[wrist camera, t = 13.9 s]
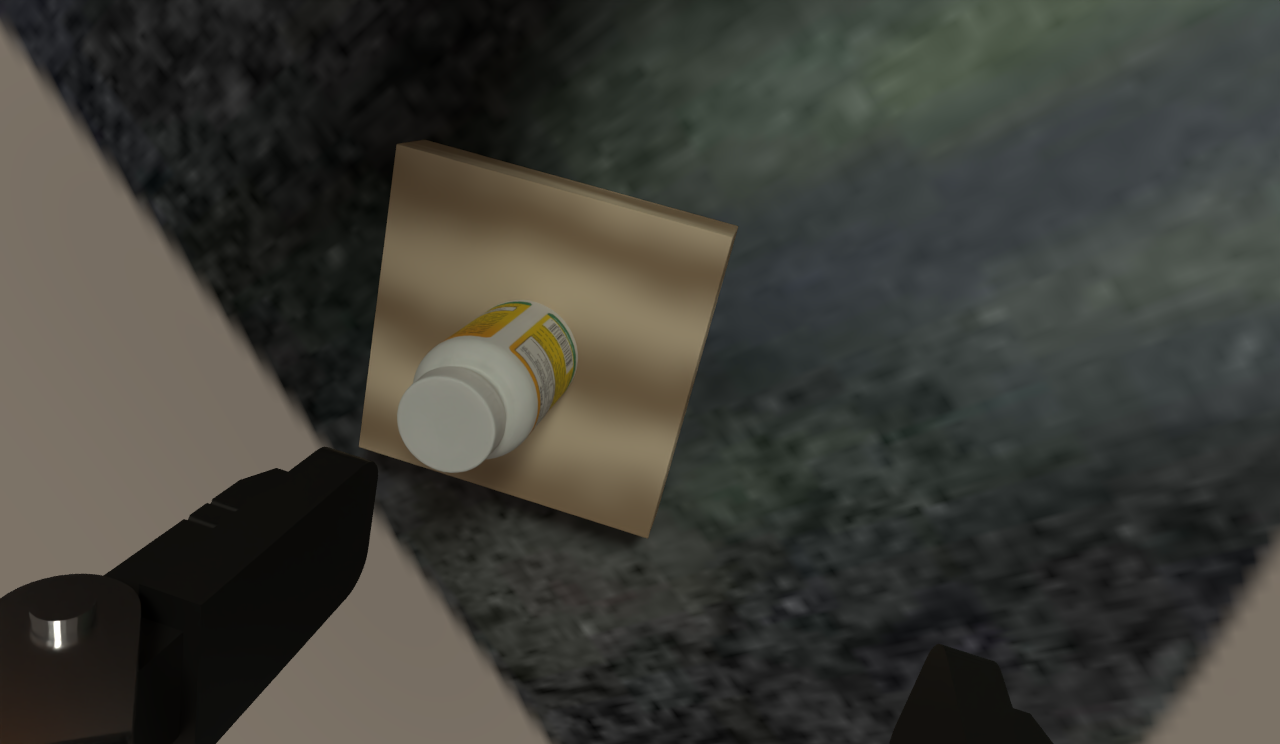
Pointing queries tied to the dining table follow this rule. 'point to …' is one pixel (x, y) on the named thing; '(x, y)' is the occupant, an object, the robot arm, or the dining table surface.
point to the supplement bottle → (487, 386)
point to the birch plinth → (573, 288)
